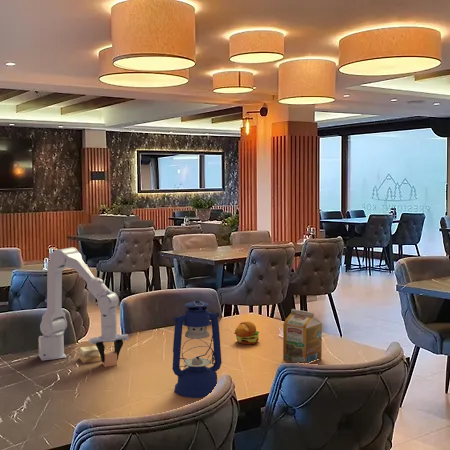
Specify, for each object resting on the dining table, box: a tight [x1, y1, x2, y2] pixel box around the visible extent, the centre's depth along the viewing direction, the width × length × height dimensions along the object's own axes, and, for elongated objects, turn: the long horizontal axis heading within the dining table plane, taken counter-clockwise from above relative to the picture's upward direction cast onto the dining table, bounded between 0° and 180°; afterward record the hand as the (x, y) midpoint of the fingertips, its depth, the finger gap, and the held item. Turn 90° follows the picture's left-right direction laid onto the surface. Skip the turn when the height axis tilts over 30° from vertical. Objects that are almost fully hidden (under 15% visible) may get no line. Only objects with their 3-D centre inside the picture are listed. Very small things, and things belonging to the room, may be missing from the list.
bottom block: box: [78, 353, 102, 364], centre depth 239 cm, size 7×7×2 cm
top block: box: [79, 345, 100, 358], centre depth 238 cm, size 6×6×2 cm
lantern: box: [171, 300, 223, 399], centre depth 203 cm, size 17×15×30 cm
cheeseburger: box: [233, 320, 260, 345], centre depth 262 cm, size 10×11×10 cm
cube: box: [101, 350, 118, 368], centre depth 232 cm, size 4×4×4 cm
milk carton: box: [282, 308, 323, 364], centre depth 237 cm, size 11×11×19 cm
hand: (109, 360), depth 232 cm, fingers closed on cube, 4 cm apart
